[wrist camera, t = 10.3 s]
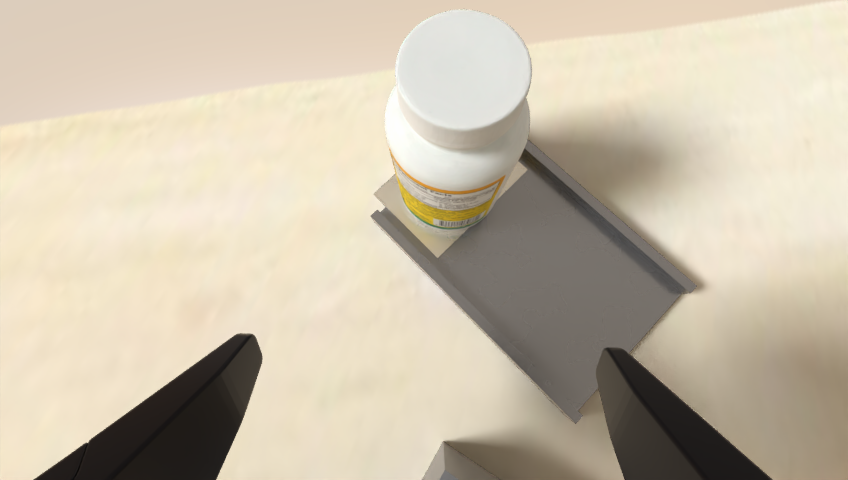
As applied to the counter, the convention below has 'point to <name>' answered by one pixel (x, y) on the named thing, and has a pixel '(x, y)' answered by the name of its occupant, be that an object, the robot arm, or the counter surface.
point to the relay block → (455, 467)
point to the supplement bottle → (458, 116)
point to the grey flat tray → (544, 275)
